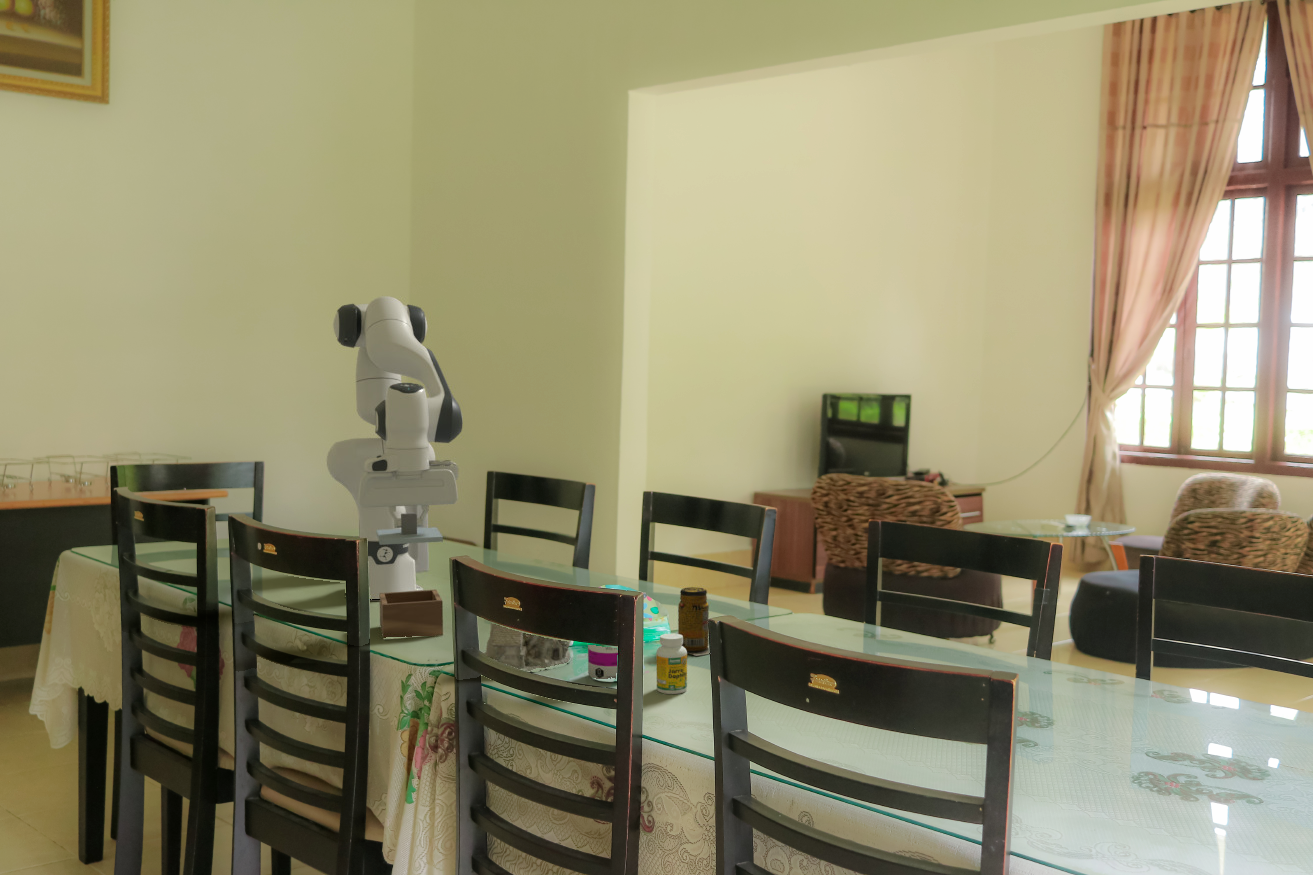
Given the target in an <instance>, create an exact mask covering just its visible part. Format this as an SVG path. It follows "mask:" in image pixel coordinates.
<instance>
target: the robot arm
mask: <svg viewBox="0 0 1313 875" xmlns="http://www.w3.org/2000/svg"><path fill="white" fill-rule="evenodd" d="M332 326H333V333H334V335H335V338H336V340H337V342H338V343H339V344H340V345H341V346H343V347H347V348H353V349H354V348H358V352H357V357H356V363H355V365H356V367H355V396H356V412H357V414H358V416H359V417H360V419H362V420H363V421H364V422H366V423H368V424H370V425H373V426H375V431H374V432H375V434H376V435H377V436H378V437H365V438H364V437H362V438H361V437H360V438H359V437H357V438H350V439H344V440H340V441H336V442H334V444H332V445H331V447H330V448H329V451H328V453H327V456H326V467H327V471H328V472H329V474H330V476H331V477H332V478H333V479H334V481H337V482H338V483H339V484H341V486H343V487H344V488H346V489H347V491H348V492H349V494H350V495H351V496H352V498H353V500H354V502H355V504H356V507H357V508H356V509H357V511H358V523H359V522H360V538H367V539H368V561H369V587H370V595H371V600H370V601H373V600H372V598H373V599H380V597H379V593H390V592H405V591H421V590H424V588H423V587H422V586H420V585H418V584H417V582H416V581H417V580H416V573H415V561H414V560H413V558H411V557H410V556H409V554H408V551H409V550H408V546H409V543H405V544H384V545H380V544H379V540H378V537H377V530H387V529H401V528H402V524H401V523H402V519H401V514H405V513H406V510H405V507H404V506H418V505H421V509H422V510H423V512H422V514H421V516H420V517H419V518H417V527H423V526H424V518H425V516H426V514H427V513H428V514H429V506H437V505H438V506H441V505H455V504H456V503H457V502H458V499H459V497H458V495H459V493H458V486H457V480H458V477H459V467H458V464H457V463H455V462H453V461H451V460H449V459H447V460H446V459H445V460H436V452H435V450H434V447H433V446H432V445H431V442H433V443H440V444H441V443H442V444H450V442H453V440H455V439H456V438H457V437H458V436H459V435H460V434H461V433H462V431H463V422H464V421H463V412H462V410H461V407H460V404H459V403H458V402H457V400H456V399H455V397H454V395H453V394H452V391H451V389H450V387H449V384H448V382H447V380H446V378H445V376H444V373H443V371H442V368H441V366H440V364H439V362H438V360H437V358H436V356H435V354H434V352H433V351H432V350H431V349H430V348H428V347H426V346H424V345H423V343H424V341H425V339H426V336H427V332H428V322H427V317H426V315H425V311H424V310H423V309H422V308H421V307H419V306H417V305H413V304H412V305H411V304H406V305H405V304H403V303H402V302H401V301H400V300H399V299H397V298H395V297H393V296H388V295H387V296H385V295H384V296H383V295H382V296H379V297H376V298H374V299H373V300H371V301H370V302H369V303H362V304H361V303H360V304H355V303H348V304H344V305H341V306H340V307H339V308H338V309H337V310H336V314H335V316H334V319H333V324H332ZM402 376H405V377H407V378H412V379H413V380H417V381H419V382H420V383H421V384H423V385H421V384H419V383H413V382H402ZM427 394H428V397H427Z"/></svg>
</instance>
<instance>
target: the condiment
mask: <svg viewBox="0 0 1313 875" xmlns="http://www.w3.org/2000/svg"><path fill="white" fill-rule="evenodd" d="M679 593H680V594H679V595H680V597H679V599H680V601H679V602H678V606H677V608H678V610H677V611H678V612H677V614H678V618H677V624H678V631H677V632H678V633H677V634H680V635H682V636H683V644H682V645H681V646H683V647H684V648H685V649H686V651H687V655H688V654H689V655H693V656H704V655H709V646H710V645H709V643H710V642H709V638H708V636H709V635H708V634H709V629H708V623H709V622H708V621H710V619H709V617H710V616H709V615H710V614H709V610H710V609H709V608H710V606H709V602H707V599H708V597H707V596H708V595H707V594H708V591H707V589H706V588H704V587H703V588H702V587H696V586H695V587H694V586H692V587H690V586H689V587H688V586H687V587H684V588H681V590H680V592H679Z"/></svg>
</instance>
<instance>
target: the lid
mask: <svg viewBox="0 0 1313 875" xmlns="http://www.w3.org/2000/svg"><path fill="white" fill-rule="evenodd" d="M401 519H402V523H401V524H402V528H401V529H387V530H377V537H378V540H379V544H380V545H384V544H405V543H425V542H428V543H443V541H444V536H443V534H441V532H440V530H439V529H438V528H437V526H435V527H434V526H433V527H428V528H417V515H416V513H405V514H401Z"/></svg>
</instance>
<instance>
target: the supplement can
mask: <svg viewBox="0 0 1313 875" xmlns="http://www.w3.org/2000/svg"><path fill="white" fill-rule="evenodd" d="M617 655H618V650H617V648H612V647H602V646H596V645H588V644H587V671H588V672H587V673H588V674H587V675H588V676H590V678H592V677H593V678H596V679H608V678H610V679H611V677H612V678H615V679H616V673H617Z"/></svg>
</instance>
